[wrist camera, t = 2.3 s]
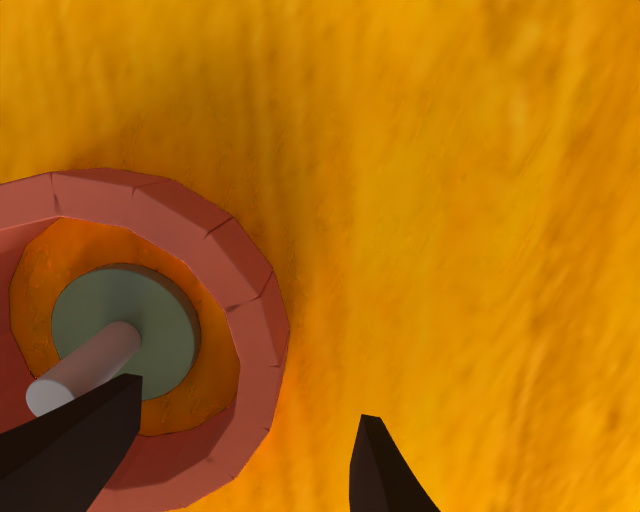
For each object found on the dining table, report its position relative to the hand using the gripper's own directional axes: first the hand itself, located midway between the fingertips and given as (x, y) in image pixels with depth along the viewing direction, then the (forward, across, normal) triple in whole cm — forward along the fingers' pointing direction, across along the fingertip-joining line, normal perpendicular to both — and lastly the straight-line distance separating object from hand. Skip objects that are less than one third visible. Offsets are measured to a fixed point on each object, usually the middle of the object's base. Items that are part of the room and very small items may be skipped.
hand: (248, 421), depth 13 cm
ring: (+4, +6, 0) cm, 7 cm away
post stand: (+4, +6, 0) cm, 7 cm away
